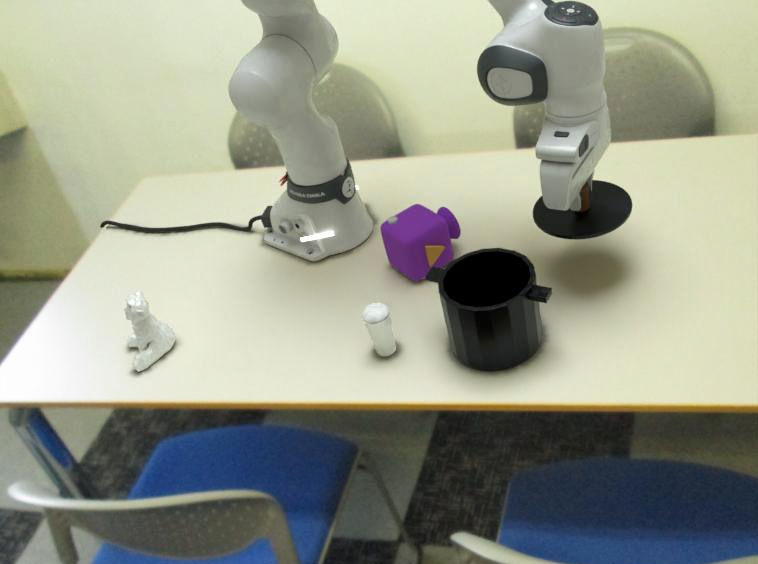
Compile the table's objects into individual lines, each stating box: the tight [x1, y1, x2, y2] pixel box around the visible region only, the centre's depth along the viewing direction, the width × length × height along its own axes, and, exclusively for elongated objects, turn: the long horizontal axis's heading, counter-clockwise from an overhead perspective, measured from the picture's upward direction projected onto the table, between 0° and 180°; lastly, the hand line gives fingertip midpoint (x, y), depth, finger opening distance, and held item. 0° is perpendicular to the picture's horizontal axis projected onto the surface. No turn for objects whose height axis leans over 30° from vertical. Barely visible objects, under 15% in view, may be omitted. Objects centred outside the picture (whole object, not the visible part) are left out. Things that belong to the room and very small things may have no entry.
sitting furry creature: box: [123, 289, 176, 373], centre depth 139 cm, size 10×9×12 cm
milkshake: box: [361, 302, 397, 357], centre depth 128 cm, size 4×5×10 cm
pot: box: [425, 247, 553, 372], centre depth 124 cm, size 15×20×12 cm
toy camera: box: [379, 203, 462, 282], centre depth 143 cm, size 11×14×10 cm
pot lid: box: [532, 179, 633, 241], centre depth 128 cm, size 16×16×5 cm
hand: (580, 201), depth 128 cm, fingers closed on pot lid, 2 cm apart
